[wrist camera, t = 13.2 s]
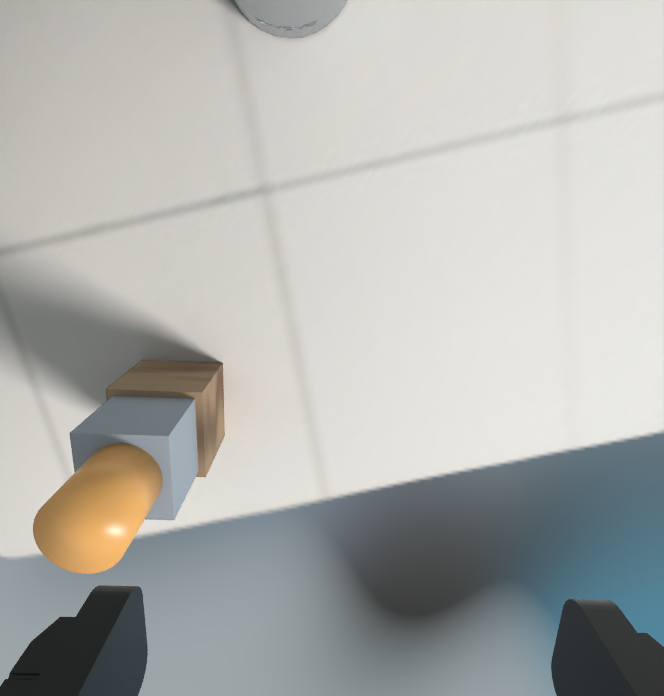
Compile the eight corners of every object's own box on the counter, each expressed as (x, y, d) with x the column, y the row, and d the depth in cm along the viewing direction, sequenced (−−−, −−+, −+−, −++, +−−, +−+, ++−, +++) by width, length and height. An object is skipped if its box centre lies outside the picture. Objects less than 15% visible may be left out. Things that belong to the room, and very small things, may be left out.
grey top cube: (112, 395, 35) (69, 433, 29) (195, 398, 35) (168, 436, 29) (120, 468, 36) (80, 517, 30) (198, 471, 36) (173, 520, 31)
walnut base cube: (142, 359, 41) (105, 389, 34) (222, 362, 41) (202, 392, 35) (147, 432, 43) (114, 474, 36) (224, 435, 43) (205, 477, 36)
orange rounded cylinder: (81, 442, 29) (25, 494, 24) (159, 443, 29) (122, 494, 24) (90, 510, 30) (40, 573, 25) (165, 511, 30) (131, 573, 25)
